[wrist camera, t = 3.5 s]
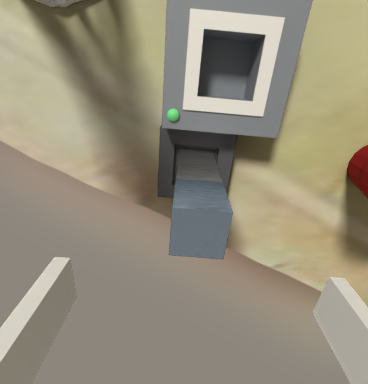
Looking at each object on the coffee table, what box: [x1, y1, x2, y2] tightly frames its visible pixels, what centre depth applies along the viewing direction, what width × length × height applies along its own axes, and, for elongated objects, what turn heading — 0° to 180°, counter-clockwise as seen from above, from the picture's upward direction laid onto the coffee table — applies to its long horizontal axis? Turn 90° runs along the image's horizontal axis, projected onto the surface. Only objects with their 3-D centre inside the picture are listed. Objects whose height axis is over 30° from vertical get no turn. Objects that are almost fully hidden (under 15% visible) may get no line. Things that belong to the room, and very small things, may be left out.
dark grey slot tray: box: [158, 125, 237, 198], centre depth 29 cm, size 9×9×2 cm
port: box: [162, 0, 313, 138], centre depth 23 cm, size 12×12×5 cm
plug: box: [169, 148, 233, 259], centre depth 23 cm, size 4×4×15 cm
